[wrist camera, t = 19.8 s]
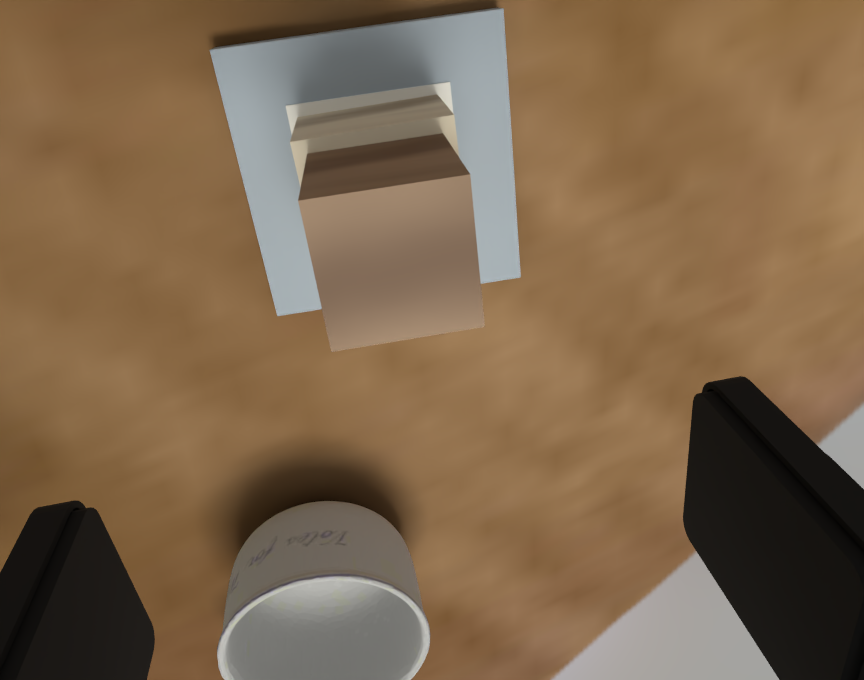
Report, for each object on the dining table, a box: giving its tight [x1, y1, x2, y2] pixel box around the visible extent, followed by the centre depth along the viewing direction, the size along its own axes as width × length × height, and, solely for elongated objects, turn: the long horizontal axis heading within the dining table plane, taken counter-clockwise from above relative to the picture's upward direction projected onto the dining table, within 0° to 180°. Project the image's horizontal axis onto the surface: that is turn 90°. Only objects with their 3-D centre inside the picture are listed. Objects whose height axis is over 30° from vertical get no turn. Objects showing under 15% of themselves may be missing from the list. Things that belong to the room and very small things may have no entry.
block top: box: [298, 133, 485, 352], centre depth 24 cm, size 5×5×6 cm
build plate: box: [210, 8, 521, 316], centre depth 31 cm, size 12×12×1 cm
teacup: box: [217, 501, 430, 680], centre depth 39 cm, size 14×11×8 cm
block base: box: [290, 94, 459, 188], centre depth 28 cm, size 6×6×5 cm
